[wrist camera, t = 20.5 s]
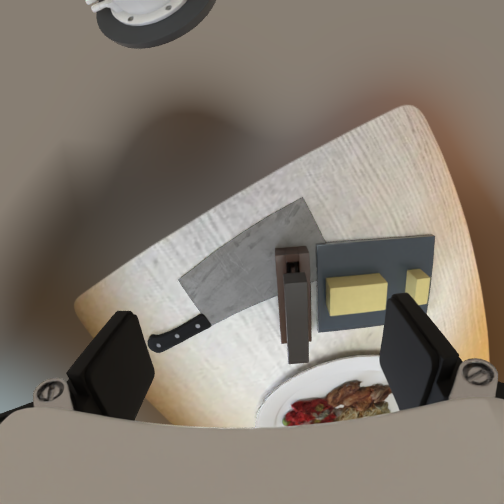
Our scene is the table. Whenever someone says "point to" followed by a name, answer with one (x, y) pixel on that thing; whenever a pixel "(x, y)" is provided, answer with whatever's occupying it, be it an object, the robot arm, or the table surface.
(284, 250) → the block
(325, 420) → the plated food
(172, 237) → the table surface
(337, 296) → the butter stick
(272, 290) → the cleaver
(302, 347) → the bench scraper
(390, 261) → the butter dish
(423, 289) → the butter slice
